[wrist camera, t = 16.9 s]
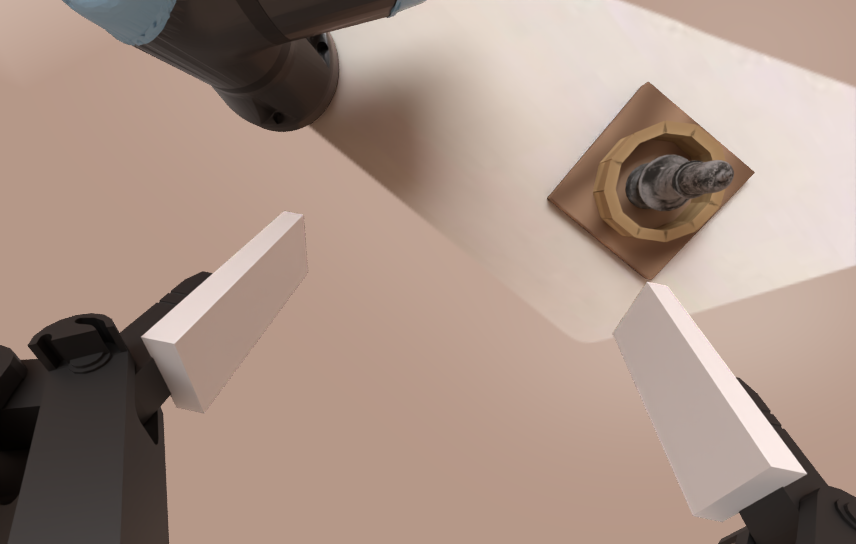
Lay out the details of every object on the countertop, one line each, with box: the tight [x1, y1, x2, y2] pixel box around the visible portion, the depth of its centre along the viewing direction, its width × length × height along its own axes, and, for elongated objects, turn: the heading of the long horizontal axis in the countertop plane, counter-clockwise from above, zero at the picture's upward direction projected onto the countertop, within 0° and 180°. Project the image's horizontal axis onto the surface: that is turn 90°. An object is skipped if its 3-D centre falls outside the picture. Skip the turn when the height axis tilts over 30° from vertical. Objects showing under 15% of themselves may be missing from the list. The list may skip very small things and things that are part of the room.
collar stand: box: [547, 82, 755, 280], centre depth 39 cm, size 16×16×4 cm
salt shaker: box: [625, 155, 734, 211], centre depth 34 cm, size 6×6×12 cm
